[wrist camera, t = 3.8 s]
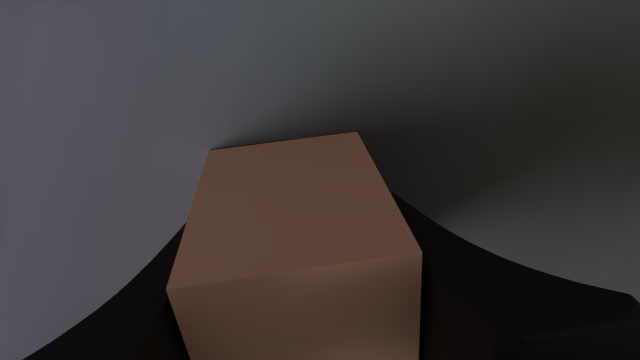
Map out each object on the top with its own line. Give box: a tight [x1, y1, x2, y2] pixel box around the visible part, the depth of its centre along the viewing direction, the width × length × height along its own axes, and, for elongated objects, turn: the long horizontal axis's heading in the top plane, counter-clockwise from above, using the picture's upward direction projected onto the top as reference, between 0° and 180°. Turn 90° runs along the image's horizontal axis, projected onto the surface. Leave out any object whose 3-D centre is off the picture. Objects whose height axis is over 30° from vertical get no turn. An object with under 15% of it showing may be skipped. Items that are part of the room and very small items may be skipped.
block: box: [166, 132, 422, 360], centre depth 11 cm, size 4×4×6 cm
